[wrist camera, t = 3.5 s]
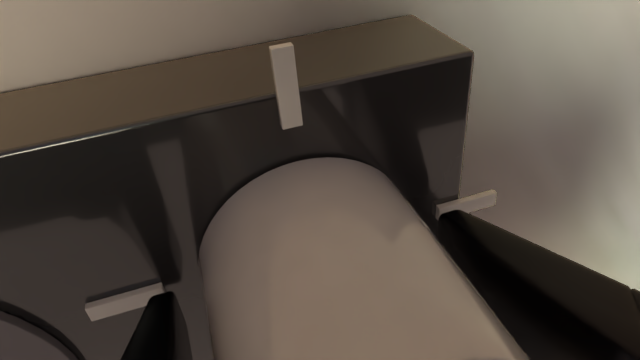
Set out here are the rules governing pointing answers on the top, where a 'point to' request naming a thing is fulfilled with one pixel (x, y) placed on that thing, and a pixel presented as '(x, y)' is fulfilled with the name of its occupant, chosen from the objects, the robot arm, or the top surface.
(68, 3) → the top surface
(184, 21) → the top surface
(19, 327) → the burners
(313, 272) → the stove knob
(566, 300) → the robot arm
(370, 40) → the stove
